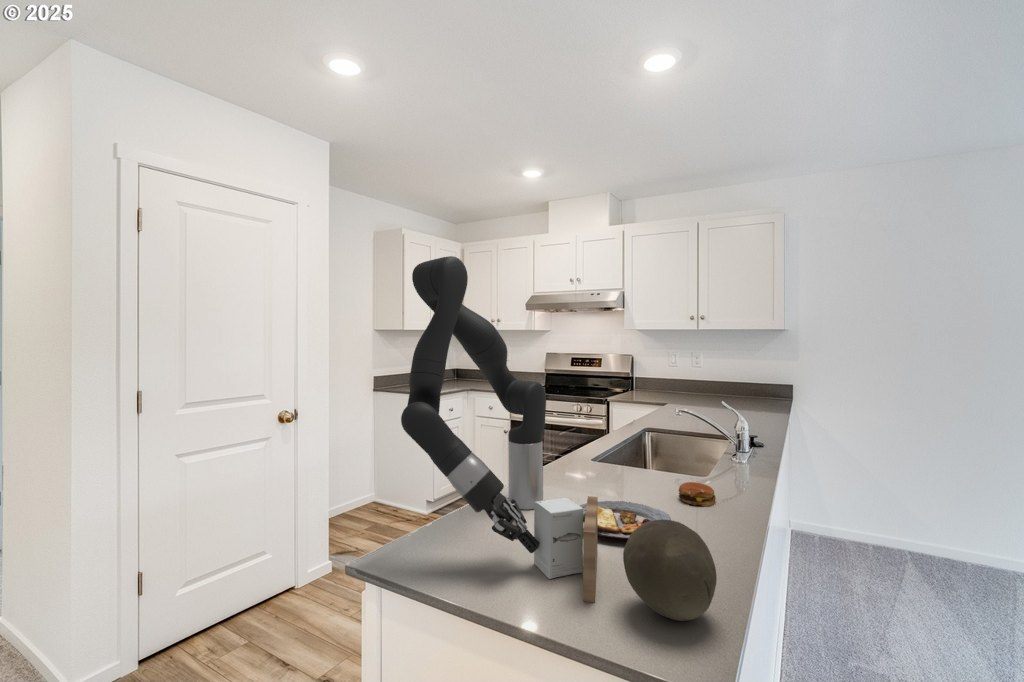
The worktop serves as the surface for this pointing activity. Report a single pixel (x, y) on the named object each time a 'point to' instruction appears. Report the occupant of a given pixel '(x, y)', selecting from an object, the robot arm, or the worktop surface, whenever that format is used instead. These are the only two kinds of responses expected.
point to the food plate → (623, 517)
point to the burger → (697, 494)
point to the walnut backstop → (590, 549)
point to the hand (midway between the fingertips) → (535, 548)
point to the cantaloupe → (670, 569)
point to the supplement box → (558, 537)
